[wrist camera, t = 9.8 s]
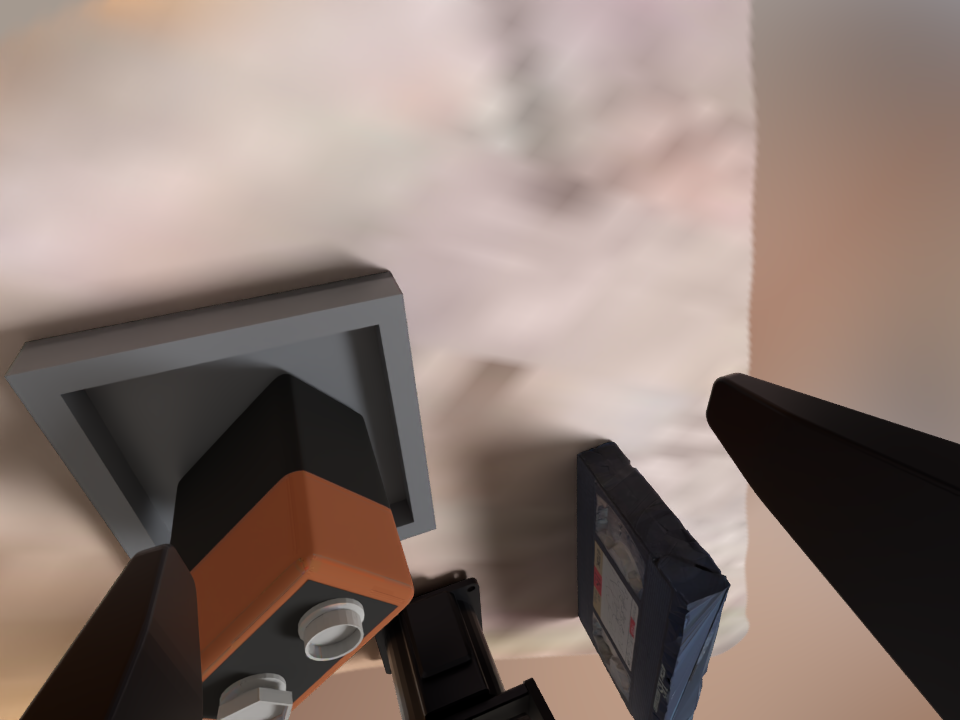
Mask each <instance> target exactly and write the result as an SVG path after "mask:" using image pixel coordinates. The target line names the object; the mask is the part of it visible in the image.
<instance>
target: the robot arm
mask: <svg viewBox="0 0 960 720" xmlns="http://www.w3.org/2000/svg"><path fill="white" fill-rule="evenodd" d="M706 418H707V422H708V424H709V426H710V428H711V429H712V430H713V432H714V433H715V435H716V436H717V438H718V439H719V441H720V442H721V444H722V445H723V447H724V448H725V450H726V451H727V453H728V454H729V455H730V457H731V458H732V460H733V461H734V463H735V464H736V466H737V467H738V469H739V470H740V472H741V473H742V475H743V476H744V478H745V479H746V480H747V482H748V483H749V485H750V486H751V487H752V489H753V490H754V492H755V493H756V494H757V496H758V497H759V498H760V499H761V501H762V502H763V503H764V504H765V506H766V507H767V508H768V509H769V511H770V512H771V513H772V514H773V515H774V517H775V518H776V519H777V520H778V521H779V522H780V524H781V525H782V526H783V527H784V529H785V530H786V531H787V532H788V533H789V535H790V536H791V537H792V538H793V540H794V541H795V542H796V543H797V544H798V545H799V547H800V548H801V549H802V550H803V552H804V553H805V554H806V555H807V556H808V557H809V559H810V560H811V561H812V562H813V564H814V565H815V566H816V567H817V568H818V570H819V571H820V572H821V573H822V574H823V576H824V577H825V578H826V579H827V580H828V582H829V583H830V584H831V585H832V586H833V588H834V589H835V590H836V591H837V593H838V594H839V595H840V596H841V597H842V599H843V600H844V601H845V602H846V603H847V605H848V606H849V607H850V608H851V609H852V611H853V612H854V613H855V614H856V616H857V617H858V618H859V619H860V620H861V622H863V624H864V625H865V626H866V628H867V629H868V630H869V631H870V632H871V633H872V635H873V636H874V637H875V638H876V640H877V641H878V642H879V643H880V644H881V646H882V647H883V648H884V649H885V651H886V652H887V653H888V654H889V655H890V657H891V658H892V659H893V660H894V661H895V663H896V664H897V665H898V666H899V667H900V669H901V670H902V671H903V672H904V673H905V675H907V677H908V678H909V679H910V681H911V682H912V683H913V684H914V685H915V687H916V688H917V689H918V690H919V692H920V693H921V694H922V695H923V696H924V697H925V698H926V700H927V701H928V702H929V704H930V705H931V706H932V707H933V708H934V710H935V711H936V712H937V713H938V714H939V716H940V717H941V718H942V719H943V720H960V444H958V443H955V442H952V441H948V440H945V439H942V438H939V437H936V436H933V435H930V434H927V433H924V432H921V431H918V430H914V429H911V428H908V427H905V426H902V425H899V424H896V423H893V422H890V421H887V420H884V419H880V418H877V417H874V416H871V415H868V414H865V413H862V412H859V411H856V410H853V409H850V408H847V407H844V406H840V405H837V404H834V403H831V402H828V401H825V400H822V399H819V398H816V397H813V396H810V395H807V394H803V393H800V392H797V391H794V390H791V389H788V388H785V387H782V386H779V385H775V384H772V383H769V382H766V381H763V380H760V379H757V378H754V377H751V376H748V375H745V374H741V373H733V374H729V375H726V376H723V377H719V378H718V379H716V381H715V382H714V384H713V387H712V391H711V395H710V399H709V402H708V406H707V410H706ZM375 637H376V641H377V644H378V647H379V651H380V654H381V657H382V661H383V664H384V667H385V671H386V673H387V674H392V677H393V681H394V685H395V690H396V695H397V699H398V703H399V707H400V712H401V717H402V720H555V719H554V717H553V715H552V713H551V711H550V709H549V707H548V705H547V704H546V702H545V700H544V698H543V696H542V694H541V692H540V690H539V688H538V687H537V685H536V683H535V681H534V679H533V678H530V679H528V680H525V681H523V684H521V685H518V686H516V687H514V688H512V689H509V690H507V691H505V689H504V686H503V684H502V681H501V678H500V676H499V673H498V671H497V668H496V665H495V663H494V660H493V658H492V655H491V652H490V650H489V647H488V645H487V642H486V639H485V637H484V634H483V630H482V618H481V605H480V592H479V585H478V582H477V580H476V579H475V578H468V579H466V580H463V581H460V582H457V583H455V584H452V585H449V586H446V587H444V588H441V589H438V590H435V591H433V592H430V593H427V594H424V595H422V596H419V597H416V598H413V599H412V600H411V601H410V602H409V604H408V605H407V606H406V607H405V608H404V609H403V610H402V611H401V612H400V613H398V614H397V615H396V616H395V617H394V618H393V619H392V620H391V621H390V622H389V623H388V624H387V625H385V626H384V627H383V628H382V629H381V630H380V631H379V632H378V633H377V634H376V635H375ZM202 716H203V692H202V673H201V656H200V640H199V624H198V608H197V593H196V586H195V582H194V579H193V577H192V575H191V573H190V572H189V570H188V568H187V567H186V565H185V564H184V562H183V560H182V559H181V557H180V555H179V554H178V552H177V550H176V549H175V548H174V546H172V545H171V544H162V545H158V546H155V547H152V548H148V549H145V550H142V551H139V552H138V553H136V554H135V555H134V556H133V557H132V558H131V560H130V561H129V563H128V564H127V566H126V567H125V568H124V570H123V571H122V573H121V574H120V576H119V577H118V578H117V580H116V581H115V583H114V584H113V586H112V587H111V589H110V590H109V591H108V593H107V594H106V596H105V597H104V599H103V600H102V601H101V603H100V604H99V606H98V607H97V609H96V610H95V612H94V613H93V614H92V616H91V617H90V619H89V620H88V622H87V623H86V624H85V626H84V627H83V629H82V630H81V632H80V633H79V635H78V636H77V637H76V639H75V640H74V642H73V643H72V645H71V646H70V647H69V649H68V650H67V652H66V653H65V655H64V656H63V657H62V659H61V660H60V662H59V663H58V665H57V666H56V668H55V669H54V670H53V672H52V673H51V675H50V676H49V678H48V679H47V680H46V682H45V683H44V685H43V686H42V688H41V689H40V691H39V692H38V693H37V695H36V696H35V698H34V699H33V701H32V702H31V703H30V705H29V706H28V708H27V709H26V711H25V712H24V714H23V715H22V716H21V718H20V719H19V720H202Z"/></svg>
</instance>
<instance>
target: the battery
mask: <svg viewBox="0 0 960 720" xmlns="http://www.w3.org/2000/svg"><path fill="white" fill-rule="evenodd" d="M170 544H171V545H172V546H174V548H175V549H176V550H177V552H178V554H179V555H180V557H181V559H182V560H183V562H184V564H185V565H186V567H187V568H188V570H189V572H190V573H191V575H192V577H193V579H194V582H195V586H196V593H197V608H198V624H199V640H200V656H201V673H202V692H203V716H202V719H210V720H288V719H289V716H290V712H291V711H293V710H294V709H295V708H296V707H297V706H298V705H299V704H300V703H301V702H302V701H303V700H304V699H306V698H307V697H308V696H309V695H310V694H311V693H312V692H313V691H314V690H316V689H317V688H318V687H319V686H320V685H321V684H322V683H323V682H324V681H325V680H326V679H327V678H329V677H330V676H331V675H332V674H333V673H334V672H335V671H336V670H337V669H338V668H340V667H341V666H342V665H343V664H344V663H345V662H346V661H347V660H348V659H349V658H350V657H352V656H353V655H354V654H355V653H356V652H357V651H358V650H359V649H360V648H361V647H362V646H364V645H365V644H366V643H367V642H368V641H369V640H370V639H371V638H372V637H373V636H375V635H376V634H377V633H378V632H379V631H380V630H381V629H382V628H383V627H384V626H385V625H387V624H388V623H389V622H390V621H391V620H392V619H393V618H394V617H395V616H396V615H397V614H398V613H400V612H401V611H402V610H403V609H404V608H405V607H406V606H407V605H408V604H409V602H410V601H411V600H412V598H413V596H414V586H413V582H412V579H411V575H410V572H409V569H408V565H407V562H406V559H405V555H404V552H403V549H402V545H401V542H400V538H399V535H398V532H397V528H396V525H395V522H394V518H393V515H392V511H391V508H390V505H389V501H388V498H387V495H386V491H385V488H384V485H383V481H382V478H381V474H380V471H379V468H378V464H377V461H376V458H375V454H374V451H373V447H372V444H371V441H370V437H369V434H368V431H367V427H366V424H365V421H364V418H363V416H362V415H361V414H359V413H357V412H356V411H354V410H352V409H350V408H349V407H347V406H345V405H343V404H342V403H340V402H338V401H336V400H335V399H333V398H331V397H329V396H327V395H326V394H324V393H322V392H320V391H319V390H317V389H315V388H313V387H312V386H310V385H308V384H306V383H305V382H303V381H301V380H299V379H297V378H296V377H294V376H292V375H290V374H282V375H280V376H278V377H277V378H275V379H274V380H273V381H272V382H271V383H270V384H269V385H268V386H267V387H266V388H265V390H264V391H263V392H262V393H261V394H260V395H259V396H258V397H257V398H256V399H255V400H254V401H253V402H252V403H251V404H250V406H249V407H248V408H247V409H246V410H245V411H244V412H243V413H242V414H241V415H240V416H239V417H238V418H237V420H236V421H235V422H234V423H233V424H232V425H231V426H230V427H229V428H228V429H227V430H226V431H225V432H224V433H223V435H222V436H221V437H220V438H219V439H218V440H217V441H216V442H215V443H214V444H213V445H212V446H211V447H210V448H209V450H208V451H207V452H206V453H205V454H204V455H203V456H202V457H201V458H200V459H199V460H198V461H197V462H196V463H195V465H194V466H193V467H192V468H191V469H190V470H189V471H188V472H187V473H186V474H185V475H184V476H183V478H182V479H181V480H180V481H179V483H178V486H177V492H176V500H175V508H174V516H173V524H172V532H171V540H170Z"/></svg>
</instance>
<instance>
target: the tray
mask: <svg viewBox="0 0 960 720" xmlns="http://www.w3.org/2000/svg"><path fill="white" fill-rule="evenodd" d="M282 374H290V375H292V376H294V377H296V378H297V379H299V380H301V381H303V382H305V383H306V384H308V385H310V386H312V387H313V388H315V389H317V390H319V391H320V392H322V393H324V394H326V395H327V396H329V397H331V398H333V399H335V400H336V401H338V402H340V403H342V404H343V405H345V406H347V407H349V408H350V409H352V410H354V411H356V412H357V413H359V414H361V415H362V416H363V418H364V421H365V424H366V427H367V431H368V434H369V437H370V441H371V444H372V447H373V451H374V454H375V458H376V461H377V464H378V468H379V471H380V474H381V478H382V481H383V485H384V488H385V491H386V495H387V498H388V501H389V505H390V508H391V511H392V515H393V518H394V522H395V525H396V528H397V532H398V535H399V538H400V541H401V540H404V539H407V538H410V537H413V536H416V535H419V534H422V533H425V532H428V531H431V530H434V529H436V524H435V517H434V510H433V503H432V496H431V489H430V482H429V475H428V468H427V461H426V454H425V447H424V440H423V433H422V426H421V419H420V412H419V405H418V398H417V391H416V384H415V377H414V370H413V363H412V356H411V349H410V342H409V334H408V327H407V320H406V313H405V306H404V299H403V293H402V292H401V290H400V288H399V286H398V284H397V283H396V281H395V279H394V277H393V275H392V274H391V272H390V271H389V272H383V273H378V274H373V275H368V276H363V277H358V278H353V279H348V280H342V281H337V282H332V283H327V284H322V285H317V286H312V287H307V288H301V289H296V290H291V291H286V292H281V293H276V294H271V295H266V296H260V297H255V298H250V299H245V300H240V301H235V302H230V303H225V304H220V305H214V306H209V307H204V308H199V309H194V310H189V311H184V312H179V313H173V314H168V315H163V316H158V317H153V318H148V319H143V320H138V321H132V322H127V323H122V324H117V325H112V326H107V327H102V328H97V329H91V330H86V331H81V332H76V333H71V334H66V335H61V336H56V337H51V338H45V339H40V340H35V341H30V342H25V344H24V345H23V347H22V349H21V350H20V352H19V353H18V355H17V357H16V358H15V360H14V362H13V363H12V365H11V366H10V368H9V370H8V371H7V373H6V375H5V376H4V377H5V378H6V380H7V381H8V383H9V384H10V385H11V387H12V388H13V390H14V391H15V393H16V394H17V396H18V397H19V398H20V400H21V401H22V403H23V404H24V406H25V407H26V409H27V410H28V411H29V413H30V414H31V416H32V417H33V419H34V420H35V422H36V423H37V424H38V426H39V427H40V429H41V430H42V432H43V433H44V435H45V436H46V437H47V439H48V440H49V442H50V443H51V445H52V446H53V448H54V449H55V450H56V452H57V453H58V455H59V456H60V458H61V459H62V461H63V462H64V463H65V465H66V466H67V468H68V469H69V471H70V472H71V474H72V475H73V476H74V478H75V479H76V481H77V482H78V484H79V485H80V487H81V488H82V489H83V491H84V492H85V494H86V495H87V497H88V498H89V500H90V501H91V502H92V504H93V505H94V507H95V508H96V510H97V511H98V513H99V514H100V515H101V517H102V518H103V520H104V521H105V523H106V524H107V526H108V527H109V528H110V530H111V531H112V533H113V534H114V536H115V537H116V539H117V540H118V541H119V543H120V544H121V546H122V547H123V549H124V550H125V552H126V553H127V554H128V556H129V557H130V559H131V558H132V557H133V556H134V555H135V554H136V553H138V552H139V551H142V550H145V549H148V548H152V547H155V546H158V545H162V544H170V540H171V532H172V524H173V516H174V508H175V500H176V492H177V486H178V483H179V481H180V480H181V479H182V478H183V476H184V475H185V474H186V473H187V472H188V471H189V470H190V469H191V468H192V467H193V466H194V465H195V463H196V462H197V461H198V460H199V459H200V458H201V457H202V456H203V455H204V454H205V453H206V452H207V451H208V450H209V448H210V447H211V446H212V445H213V444H214V443H215V442H216V441H217V440H218V439H219V438H220V437H221V436H222V435H223V433H224V432H225V431H226V430H227V429H228V428H229V427H230V426H231V425H232V424H233V423H234V422H235V421H236V420H237V418H238V417H239V416H240V415H241V414H242V413H243V412H244V411H245V410H246V409H247V408H248V407H249V406H250V404H251V403H252V402H253V401H254V400H255V399H256V398H257V397H258V396H259V395H260V394H261V393H262V392H263V391H264V390H265V388H266V387H267V386H268V385H269V384H270V383H271V382H272V381H273V380H274V379H275V378H277V377H278V376H280V375H282Z"/></svg>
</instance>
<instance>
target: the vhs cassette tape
mask: <svg viewBox="0 0 960 720" xmlns="http://www.w3.org/2000/svg"><path fill="white" fill-rule="evenodd" d="M577 580H578V616H579V618H580V621H581V623H582V624H583V626H584V628H585V630H586V632H587V633H588V635H589V637H590V639H591V641H592V643H593V645H594V647H595V648H596V651H597V652H598V653H599V656H600V657H601V660H602V662H603V664H604V666H605V667H606V669H607V671H608V673H609V674H610V676H611V678H612V680H613V682H614V684H615V686H616V688H617V689H618V691H619V693H620V695H621V698H622V699H623V701H624V702H625V705H626V707H627V709H628V710H629V712H630V714H631V715H632V716H633V718H634V719H635V720H692V719H693V714H694V711H695V709H696V707H697V703H698V700H699V696H700V692H701V689H702V677H703V675H704V674H705V673H706V672H707V668H708V663H709V660H710V656H711V653H712V650H713V646H714V642H715V639H716V635H717V631H718V627H719V622H720V617H721V612H722V608H723V605H724V602H725V601H726V597H727V593H728V590H729V588H730V583H729V582H728V580H727V577H726V576H724V575H722V574H721V571H720V569H719V568H718V567H717V565H716V564H715V562H714V561H713V559H712V558H711V556H710V555H709V554H708V553H707V552H706V551H705V550H704V549H703V548H702V547H701V546H700V545H699V543H698V542H697V541H696V540H695V539H694V538H693V537H692V536H691V535H690V533H689V531H688V530H686V529H685V528H684V526H683V525H682V523H681V522H680V520H679V519H678V518H677V517H676V516H675V514H674V513H673V512H672V511H671V510H670V509H669V508H668V506H667V505H666V504H665V503H664V502H663V500H662V499H661V498H660V496H659V495H658V494H657V493H656V491H655V490H654V489H653V488H652V487H651V485H650V484H649V483H648V482H647V481H646V479H645V478H644V477H643V476H642V475H641V474H640V473H639V471H638V470H637V469H636V468H633V467H632V466H631V465H630V460H629V459H628V458H627V457H626V456H625V455H624V454H623V452H622V451H621V450H620V449H619V447H618V446H617V444H616V443H615V442H608V443H604V444H602V445H600V446H598V447H597V448H596V449H594V448H592V449H591V450H589V451H585V452H582V453H580V454H578V455H577Z"/></svg>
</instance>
